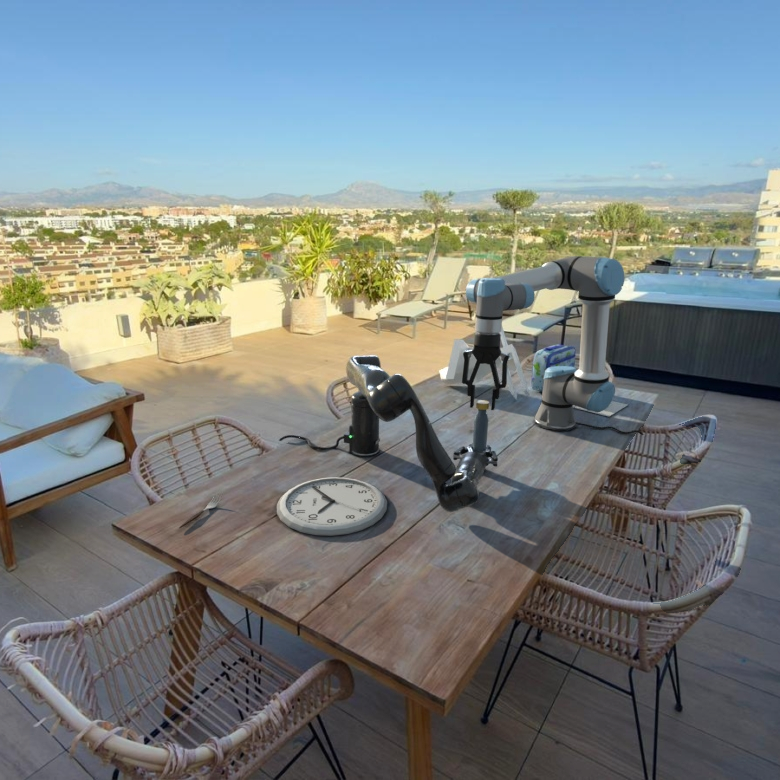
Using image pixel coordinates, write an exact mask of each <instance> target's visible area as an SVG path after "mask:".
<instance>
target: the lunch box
mask: <svg viewBox="0 0 780 780" xmlns="http://www.w3.org/2000/svg"><path fill="white" fill-rule="evenodd" d="M576 357H577V355H576V347H575V346H569V345H565V344H554V345H550V346H547V347H544V348H542V349H541V348H540V349H539V350H537V351H536V352H535V353H534V356H533V360H532V367H531V368H532V369H531V382H530V383H531V386H530V387H531V389H532V390H533V391H537V392H542V391H543V381H544V379H543V378H544V375H545V370H546V369H547V368H549V367H555V366H571V367H575V364H576Z"/></svg>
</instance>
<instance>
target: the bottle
mask: <svg viewBox="0 0 780 780" xmlns="http://www.w3.org/2000/svg"><path fill="white" fill-rule="evenodd" d="M488 430H489V415H488V412H487V410H480V409H477V411H476V414H475V417H474V423H473V438H472V443H473V449H472V451H473V452H477V453H480V452H481V451H483V450H484V451H485V450H486V447H487V445H488V444H487V443H488V432H489V431H488Z"/></svg>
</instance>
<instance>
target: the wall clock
mask: <svg viewBox="0 0 780 780" xmlns="http://www.w3.org/2000/svg"><path fill="white" fill-rule="evenodd" d="M387 509H388V500H387V498H386V496H385V494H384V493H383V492H382V491H381V490H380V489H379V488H377V487H376V486H374V485H372V484H371V483H369V482H365V481H362V480H359V479H355V478H349V477H338V476H337V477H335V476H333V477H332V476H331V477H322V478H317V479H312V480H307V481H305V482H302V483H299V484H297V485H295V486H293V487H292V488H290V489H288V490H287V491H286V492H285V493H284V494H283V495H281V496H280V498H279V499H278V502H277V503H276V515H277V517H278V518H279V520H280V521H281V522H282V523H283V524H285V525H286V526H287V527H288V528H290V529H293V530H295V531H297V532H299V533H303V534H308V535H312V536H327V537H328V536H329V537H331V536H332V537H333V536H342V535H350V534H352V533H356V532H361V531H363V530H366V529H368V528H369V527H372V526H373V525H375V524H376V523H378V522H379V521H380V520H381V519H382V518H383V517H384V516H385V514H386V512H387Z"/></svg>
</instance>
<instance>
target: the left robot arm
mask: <svg viewBox="0 0 780 780" xmlns="http://www.w3.org/2000/svg"><path fill="white" fill-rule="evenodd" d="M345 373H346V376H347V379H348V381H349V383H350V384H351V385H353V386H354V387H356V388H357V389H358V391H356V392H354V393H352V395H351V398H350V399H351V401H350V403H351V405H350V406H351V407H350V408H351V409H350V410H351V411H350V412H351V423H350V425H349V427H348V430H347V431H346V432H345V433H344V434H343V435H341V436H340V437H338V438H337V439H336V443H335V445H332V446H327V447H323V446H317V445H313V444H312V443H311V440H310V439H309V438H307V437H304V436H300V435H294V434H287V435H284V436H282V437H280V438H279V439H278V441H279V442H282V441H283V440H285V439H289V438H292V439H293V438H294V439H299V440H303V441H306V442H307V445H308V446H309V447H310V448H311V449H315V450H320V451H325V450H332V449H336V448H338V446H339V445H340V441H341V440H343V443H344V444H348V447H349V448H348V450H349V452H348V453H351V454H353V455H354V456H358V457H363V458H364V457H365V458H366V457H374V456H376V455H377V454H379V452H380V442H381V437H380V420H381V421H383V422H386V423H389V422H390V423H391V422H392V421H395V420H396V419H397V418H399V417H400V416H402V415H403V414H405V413H406V412H407V411H409V410H410V413H411V415H412V417H413V421H414V425H415V450H416V456H417V459H418V461H419V462H420V465H421V466H422V467H423V469H424V470H425V472H426V474H427V475H428V477H429V478H430V480H431V482H432V485H433V488H434V490H435V493H436V497H437V501H438V504H439V506H440V507H441V509H443V510H444V511H446V512H447V513H454V512H457V511H459V510H462V509H465V508H468V507H471V506H473V505H475V504H476V503H477V502H478V500H479V498H480V492H479V487H478V485H479V482H480V481H481V479H482V477H483V475H484V472H485V470H486V467H487V466H489V465H492V466H493V467H498V462H499V457H498V455H497V452H496V451H495V450H492V447H491V446H490V445H489V444H487V445H486V450H485V451H484V450H483V451H481V452H480V453H477V452H473V451H472V449H473V442H471V443H469V444H468V446H463V445H462V446H460V447H458V448H457V449H455V450H453V454H452V455H453V456H452V459H451V457H450V455H449V454H448V453H447V451H446V449H445V448H444V445H442V443H441V441H440V440H439V438H438V436H437V433H436V431H435V429H434V427H433V425H432V423H431V421H430V419H429V417H428V415H427V413H426V411H425V409H424V407H423V405H422V402H421V401H420V398H419V397H418V395H417V393H416V392H415V390H414V388H413V387H412V385H411V384H410V382H409V381H408V380H407V379H406V377H405V376H403V375H402V374H400V373H394V374H393V375H391V376H390V375H389V373H388V372H387V371H385V370H384V369H383V368H382V365H381V360H380V358H379V356H378V355H354V356H350V358H348V360H347V362H346V365H345ZM299 437H300V438H299ZM453 460H454V461H457V460H459V461H458V463H457V465H455V463H454V461H453ZM449 480H451V483H447V482H448V481H449Z"/></svg>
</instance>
